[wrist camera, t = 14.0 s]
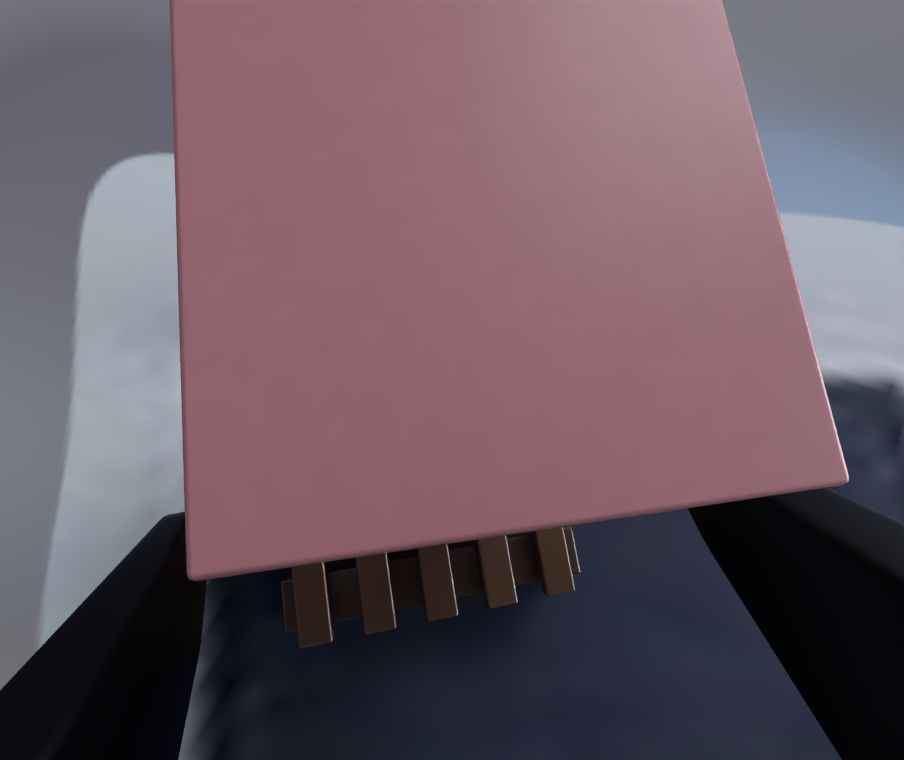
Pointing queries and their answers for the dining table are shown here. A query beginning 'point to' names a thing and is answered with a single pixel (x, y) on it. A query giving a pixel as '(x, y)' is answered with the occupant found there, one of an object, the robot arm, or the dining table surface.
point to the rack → (424, 581)
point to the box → (475, 276)
